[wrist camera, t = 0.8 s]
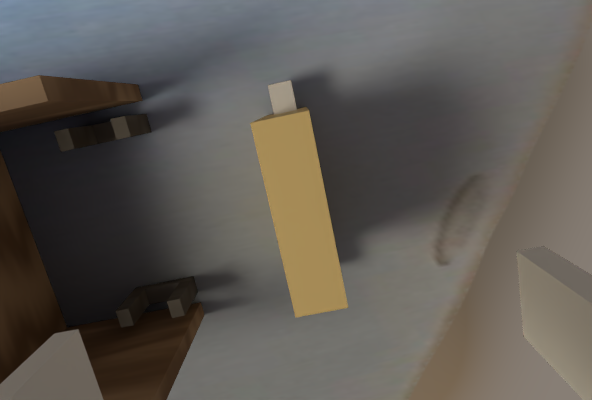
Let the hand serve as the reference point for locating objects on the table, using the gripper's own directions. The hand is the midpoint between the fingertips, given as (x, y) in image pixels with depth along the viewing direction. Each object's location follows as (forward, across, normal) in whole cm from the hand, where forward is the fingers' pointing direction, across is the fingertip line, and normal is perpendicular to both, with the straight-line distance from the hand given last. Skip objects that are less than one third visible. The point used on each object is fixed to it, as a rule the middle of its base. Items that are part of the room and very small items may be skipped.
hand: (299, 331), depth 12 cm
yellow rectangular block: (+21, 0, 0) cm, 21 cm away
